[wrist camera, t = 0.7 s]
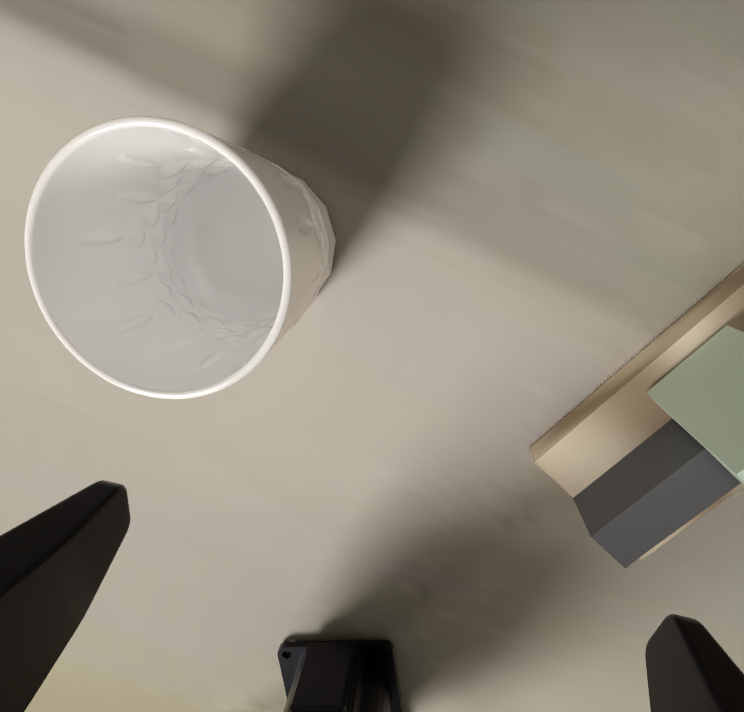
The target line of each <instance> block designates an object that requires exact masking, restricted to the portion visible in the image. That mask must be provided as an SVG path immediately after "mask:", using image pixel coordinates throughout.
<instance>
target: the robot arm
mask: <svg viewBox="0 0 744 712" xmlns="http://www.w3.org/2000/svg"><path fill="white" fill-rule="evenodd" d="M129 524H130V512H129V504H128V497H127V490H126V488H125V487H124V485H121V484H118V483H113V482H109V481H98V482H96V483H94V484H92V485H90V486H88V487H86V488H85V489H83V490H81V491H79V492H78V493H76V494H74V495H72V496H70V497H69V498H67V499H65V500H63V501H61V502H60V503H58V504H56V505H54V506H52V507H51V508H49V509H47V510H45V511H44V512H42V513H40V514H38V515H36V516H35V517H33V518H31V519H29V520H27V521H26V522H24V523H22V524H20V525H19V526H17V527H15V528H13V529H11V530H10V531H8V532H6V533H4V534H2V535H1V536H0V712H24V711H25V710H26V708H27V706H28V705H29V703H30V702H31V700H32V699H33V697H34V695H35V694H36V692H37V691H38V689H39V688H40V686H41V684H42V683H43V681H44V680H45V678H46V677H47V675H48V673H49V672H50V670H51V669H52V667H53V665H54V664H55V662H56V661H57V659H58V658H59V656H60V654H61V653H62V651H63V650H64V648H65V647H66V645H67V643H68V642H69V640H70V639H71V637H72V636H73V634H74V632H75V631H76V629H77V627H78V626H79V624H80V623H81V621H82V619H83V618H84V616H85V614H86V612H87V610H88V608H89V606H90V604H91V603H92V601H93V599H94V597H95V595H96V593H97V591H98V589H99V587H100V585H101V583H102V581H103V579H104V577H105V575H106V573H107V571H108V569H109V567H110V565H111V563H112V561H113V559H114V557H115V555H116V553H117V551H118V549H119V547H120V545H121V543H122V541H123V539H124V537H125V535H126V533H127V531H128V528H129ZM382 649H385V650H387V651H382ZM285 651H288V652H289V653H287V652H285ZM645 656H646V668H647V678H648V688H649V698H650V708H651V712H744V674H743V673H742V671H741V670H740V669H739V668H738V667H737V665H736V664H735V663H734V662H733V661H732V659H731V658H730V657H729V656H728V655H727V653H726V652H725V651H724V650H723V649H722V647H721V646H720V645H719V644H718V643H717V641H716V640H715V639H714V638H713V637H712V635H711V634H710V633H709V632H708V631H707V629H706V628H705V627H704V626H703V625H702V624H701V623H700V622H699V621H697V620H695V619H692V618H688V617H684V616H679V615H675V614H671V615H668V616H667V617H666V618H665V619H664V620H663V622H662V623H661V625H660V626H659V627H658V629H657V630H656V631H655V633H654V634H653V635H652V637H651V638H650V640H649V641H648V644H647V646H646V655H645ZM278 658H279V663H280V667H281V672H282V677H283V681H284V686H285V691H286V695H287V702H286V705H285V709H284V712H403V706H402V700H401V693H400V686H399V679H398V673H397V666H396V659H395V653H394V647H393V644H392V643H391V642H389V641H387V640H352V641H304V642H284V643H282V644H281V645H280V648H279V650H278Z"/></svg>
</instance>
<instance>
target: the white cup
mask: <svg viewBox="0 0 744 712" xmlns="http://www.w3.org/2000/svg"><path fill="white" fill-rule="evenodd" d="M335 243H336V239H335V235H334V232H333V229H332V225H331V222H330V218H329V215H328V212H327V208H326V206H325V205H324V204H323V203H322V201H321V200H320V199H319V198H318V197H317V196H316V194H315V193H314V192H313V191H312V190H311V189H310V188H309V186H308V185H307V184H306V183H305V182H304V181H303V180H302V179H300V178H298V177H296V176H293V175H291V174H289V173H288V172H287V171H285V170H284V169H283V168H281V167H280V166H278V165H276V164H274V163H272V162H270V161H268V160H267V159H265V158H263V157H261V156H259V155H257V154H255V153H253V152H251V151H249V150H247V149H245V148H242V147H239V146H237V145H234V144H232V143H229V142H227V141H225V140H223V139H221V138H219V137H216V136H214V135H211V134H209V133H207V132H205V131H202V130H200V129H198V128H196V127H193V126H191V125H188V124H185V123H182V122H179V121H175V120H171V119H167V118H161V117H152V116H132V117H124V118H118V119H114V120H110V121H106V122H103V123H101V124H98V125H96V126H93V127H91V128H89V129H87V130H85V131H84V132H82V133H80V134H79V135H77V136H76V137H74V138H73V139H72V140H70V141H69V142H68V143H67V144H65V145H64V146H63V147H62V148H61V149H60V150H59V151H58V152H57V153H56V154H55V156H54V157H53V158H52V159H51V160H50V162H49V163H48V165H47V166H46V167H45V169H44V171H43V172H42V174H41V176H40V178H39V180H38V182H37V184H36V186H35V188H34V191H33V194H32V196H31V200H30V203H29V207H28V211H27V217H26V224H25V257H26V265H27V270H28V275H29V279H30V283H31V286H32V289H33V292H34V295H35V297H36V300H37V302H38V305H39V307H40V309H41V311H42V313H43V315H44V317H45V318H46V320H47V322H48V324H49V325H50V327H51V328H52V330H53V331H54V333H55V334H56V335H57V337H58V338H59V339H60V341H61V342H62V343H63V344H64V345H65V347H66V348H67V349H68V350H69V351H70V352H71V353H72V354H73V355H74V356H75V357H76V358H77V359H78V360H79V361H80V362H81V363H83V364H84V365H85V366H86V367H87V368H89V369H90V370H91V371H93V372H94V373H96V374H97V375H99V376H100V377H102V378H103V379H105V380H107V381H109V382H110V383H112V384H114V385H116V386H119V387H121V388H123V389H126V390H128V391H131V392H134V393H137V394H141V395H145V396H149V397H155V398H163V399H186V398H194V397H199V396H204V395H208V394H211V393H214V392H217V391H219V390H222V389H224V388H226V387H228V386H230V385H232V384H233V383H235V382H237V381H238V380H240V379H241V378H243V377H244V376H245V375H247V374H248V373H249V372H250V371H251V370H253V369H254V368H255V367H256V366H257V365H258V364H259V363H260V362H261V360H262V359H263V358H264V357H265V356H266V355H267V354H268V353H269V352H270V350H271V349H272V348H273V347H274V346H275V345H276V344H277V343H278V342H279V341H280V340H281V339H282V338H283V337H284V336H285V335H286V333H287V332H288V331H289V330H290V329H291V328H292V327H293V326H294V325H295V324H296V323H297V321H298V320H299V319H300V317H301V316H302V315H303V314H304V312H305V311H306V310H307V309H308V308H309V306H310V305H311V304H312V302H313V301H314V300H315V298H316V296H317V294H318V292H319V291H320V289H321V288H322V286H323V285H324V283H325V282H326V280H327V279H328V277H329V276H330V275H331V270H332V263H333V257H334V250H335Z"/></svg>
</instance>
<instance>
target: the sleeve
mask: <svg viewBox="0 0 744 712" xmlns="http://www.w3.org/2000/svg"><path fill="white" fill-rule="evenodd" d="M646 393H647V394H648V395H649V396H650V397H651V398H652V399H653V400H654V401H655V402H656V403H657V404H658V405H659V406H660V407H661V408H662V409H663V410H664V411H665V412H666V413H667V414H668V415H669V416H671V417H672V418H673V419H674V420H675V421H676V422H677V423H678V424H679V425H680V426H682V427H683V428H684V429H685V430H686V431H687V432H688V433H689V434H690V435H691V436H693V437H694V438H695V439H696V440H697V441H698V442H699V443H700V444H701V445H702V446H704V447H705V448H706V449H707V450H708V451H709V452H710V453H711V454H712V455H713V456H714V457H715V458H716V459H717V460H718V461H719V462H720V463H721V464H722V465H723V466H724V467H725V468H726V469H727V470H728V471H729V472H730V473H731V474H732V475H733V476H734V477H735V478H737V479H738V480H739V481H740V482H741V483H740V484H741V485H742V486H743V487H744V332H742V331H739V330H737V329H735V328H732V327H730V326H725V327H724V328H723V329H722V330H721V331H719V332H718V333H717V334H716V335H715V336H713V337H712V338H711V339H710V340H709V341H707V342H706V343H705V344H704V345H703V346H701V347H700V348H699V349H698V350H697V351H695V352H694V353H693V354H692V355H691V356H689V357H688V358H687V359H686V360H685V361H683V362H682V363H681V364H680V365H679V366H677V367H676V368H675V369H674V370H673V371H671V372H670V373H669V374H668V375H667V376H665V377H664V378H663V379H662V380H661V381H659V382H658V383H657V384H656V385H655V386H653V387H652V388H651V389H650V390H649V391H647V392H646Z"/></svg>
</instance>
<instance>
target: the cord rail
mask: <svg viewBox="0 0 744 712" xmlns="http://www.w3.org/2000/svg"><path fill="white" fill-rule="evenodd" d="M740 483H741V482H740V481H739V480H738V479H737V478H735V477H734V476H733V475H732V474H731V473H730V472H729V471H728V470H727V469H726V468H725V467H724V466H723V465H722V464H721V463H720V462H719V461H718V460H717V459H716V458H715V457H714V456H713V455H712V454H711V453H710V452H709V451H708V450H707V449H706V448H705V447H704V446H702V445H701V444H700V443H699V442H698V441H697V440H696V439H695V438H694V437H693V436H691V435H690V434H689V433H688V432H687V431H686V430H685V429H684V428H683V427H682V426H680V425H679V424H678V423H677V422H676V421H675V420H674V419H673V418H672V419H671V420H670V421H668V422H667V423H666V424H665V425H663V426H662V427H661V428H660V429H658V430H657V431H656V432H655V433H653V434H652V435H651V436H650V437H648V438H647V439H646V440H645V441H643V442H642V443H641V444H640V445H638V446H637V447H636V448H635V449H633V450H632V451H631V452H630V453H629V454H627V455H626V456H625V457H624V458H622V459H621V460H620V461H619V462H617V463H616V464H615V465H614V466H612V467H611V468H610V469H609V470H607V471H606V472H605V473H604V474H602V475H601V476H600V477H599V478H597V479H596V480H595V481H594V482H592V483H591V484H590V485H589V486H587V487H586V488H585V489H584V490H583V491H581V492H580V493H579V494H578V495H576V496H575V497H574V498H573V499H574V501H575V503H576V505H577V507H578V509H579V512H580V514H581V516H582V518H583V520H584V522H585V525H586V527H587V529H588V531H589V533H590V535H591V537H592V538H593V539H594V540H595V541H596V542H597V543H599V544H600V545H601V546H602V547H603V548H604V549H605V550H606V551H607V552H608V553H609V554H611V555H612V556H613V557H614V558H615V559H616V560H617V561H618V562H619V563H620V564H621V565H622V566H624V567H625V568H626V567H627V566H629V565H630V564H631V563H633V562H634V561H635V560H637V559H638V558H640V557H641V556H642V555H644V554H645V553H646V552H648V551H649V550H650V549H652V548H653V547H655V546H656V545H657V544H659V543H660V542H661V541H663V540H664V539H665V538H667V537H668V536H670V535H671V534H672V533H674V532H675V531H676V530H678V529H679V528H680V527H682V526H683V525H685V524H686V523H687V522H689V521H690V520H691V519H693V518H694V517H695V516H697V515H698V514H700V513H701V512H702V511H704V510H705V509H706V508H708V507H709V506H710V505H712V504H713V503H715V502H716V501H717V500H719V499H720V498H721V497H723V496H724V495H725V494H727V493H728V492H730V491H731V490H732V489H734V488H735V487H736V486H738V485H739V484H740Z"/></svg>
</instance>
